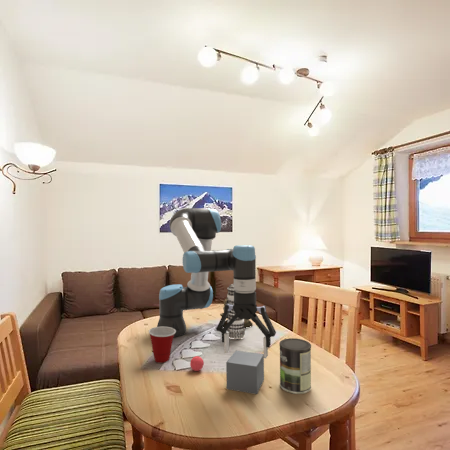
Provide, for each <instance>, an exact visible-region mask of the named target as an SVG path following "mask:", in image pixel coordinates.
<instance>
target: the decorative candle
mask: <svg viewBox="0 0 450 450" xmlns="http://www.w3.org/2000/svg"><path fill="white" fill-rule="evenodd" d="M226 289H227V294H226V295H227V297H225V298H226V300H227V301H226V303H227V304H228V303H229V304H230V305H234V292H235V290H234V283H232V284H229V285H228V287H227V288H226ZM235 314H236V313H235V312H234V310H233V309H232V310H231V311H230V312H229V314H228V319H227V320H228V322H229V321H230V320H231V319H232V317H233V316H234V315H235ZM228 322H227V323H228ZM244 324H245V322H244V319H240V318H239V317H238V318H237V319H236V320H235V321H234V323H233V324H232V325H231V326H230V327H229V328H228V330H227V331H226V332H229V337H230V338H234V339H241V338H243V339H245V338H244V337H245V335H246V333H245V331H246V328H245V329H244V327H245V326H244ZM241 340H242V339H241Z"/></svg>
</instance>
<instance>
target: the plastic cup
mask: <svg viewBox="0 0 450 450" xmlns="http://www.w3.org/2000/svg"><path fill="white" fill-rule="evenodd" d="M175 332H176V330H175V329H173V328H171V327H164V326H161V327H157V326H155V327H151V328H149V330H148V334H149V337H150V342H151V347H152V353H153V358H154V361H155V362H156V363H160V364H161V363H166V362H169V360H170V358H171V352H172V346H173V340H174V338H175V337H174V334H175Z"/></svg>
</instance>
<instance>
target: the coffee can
mask: <svg viewBox="0 0 450 450" xmlns="http://www.w3.org/2000/svg"><path fill="white" fill-rule="evenodd" d="M278 344H279V386H280V388H281V389H282V390H283V391H285V392H287V393H290V394H293V395H304V394H307V393H309V392H310V391H311V390H312V372H311V371H312V365H311V363H312V354H311V353H312V352H311V349H312V344H311V342H309V341H307V340H305V339H303V338H302V339H301V338H293V337H292V338H291V337H290V338H284V339H282V340H280V341H279V343H278Z"/></svg>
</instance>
